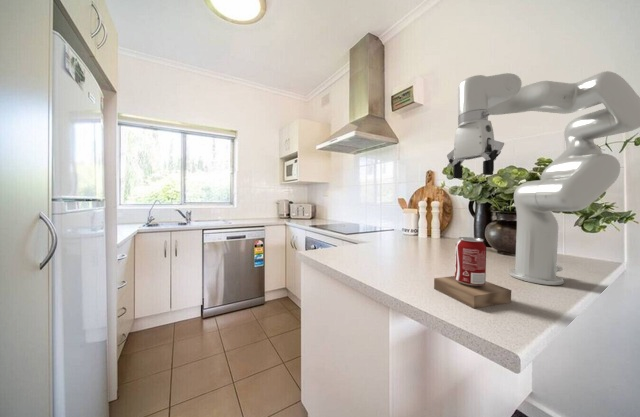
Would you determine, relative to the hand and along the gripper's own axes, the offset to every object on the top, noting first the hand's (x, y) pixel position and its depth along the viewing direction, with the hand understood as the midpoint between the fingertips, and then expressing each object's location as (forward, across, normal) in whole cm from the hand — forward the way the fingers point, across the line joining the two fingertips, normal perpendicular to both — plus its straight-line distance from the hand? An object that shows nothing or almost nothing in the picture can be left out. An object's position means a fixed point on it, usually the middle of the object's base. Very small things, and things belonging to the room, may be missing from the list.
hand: (471, 176), depth 68 cm
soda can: (+30, -8, +10) cm, 32 cm away
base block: (+32, -8, +10) cm, 35 cm away
